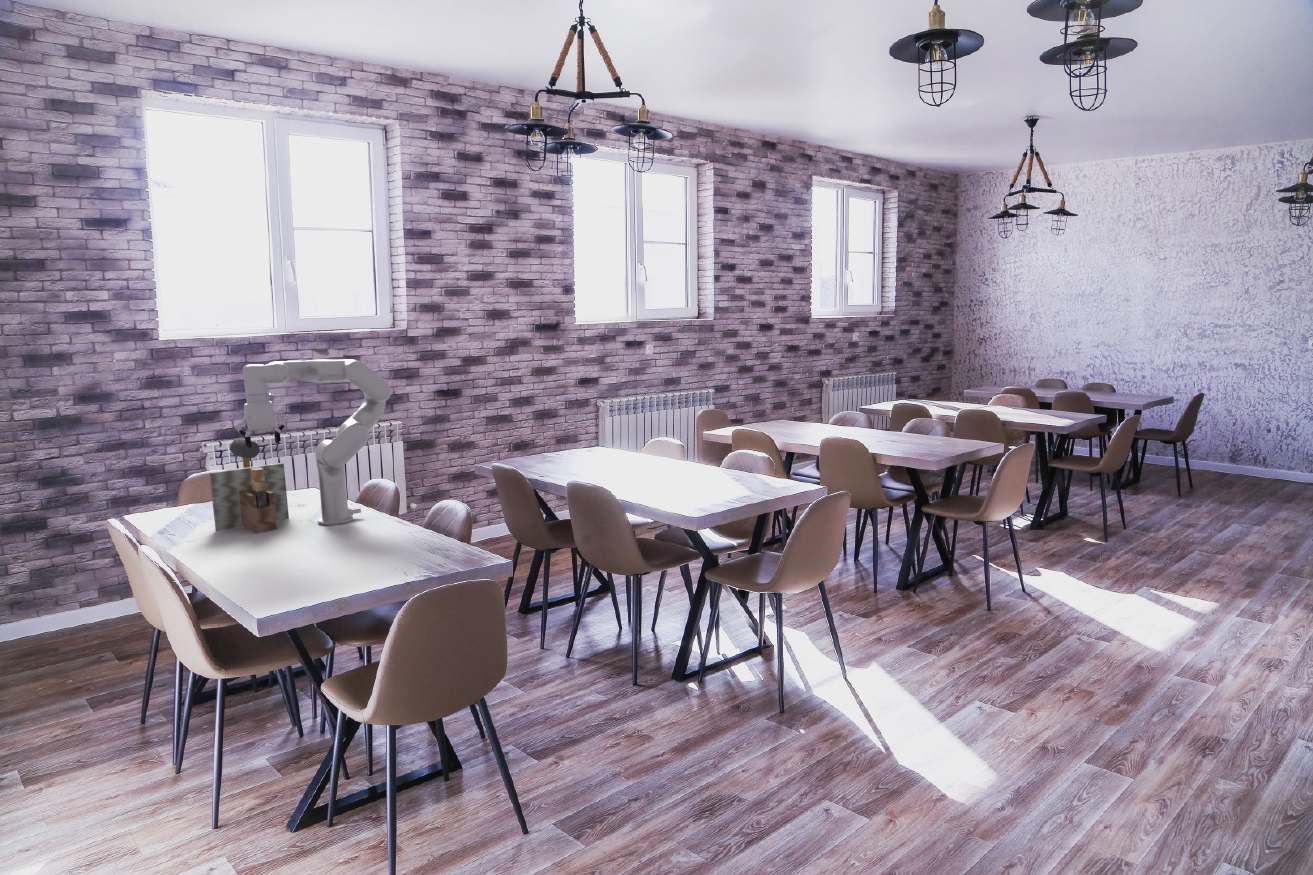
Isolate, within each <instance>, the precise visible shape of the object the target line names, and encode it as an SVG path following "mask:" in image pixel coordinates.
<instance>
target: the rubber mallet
mask: <svg viewBox="0 0 1313 875" xmlns="http://www.w3.org/2000/svg"><path fill="white" fill-rule="evenodd" d="M251 446H252V447H251V448H248V447H247V446H246V444H245V438H238V439H237V438H236V439H234V440H233V441H232V442H231V443H230V447H229V450H230V452H231V454H233V455H234V456H236V457H240V458H242V466H243V467H242V468H247V467H251V462H250V459H254V458H256V457H257V456H259V453H260V448H261V447H260V445H259V444H258V443H257V442H256V441H253V440H251Z"/></svg>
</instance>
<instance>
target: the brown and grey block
mask: <svg viewBox="0 0 1313 875" xmlns="http://www.w3.org/2000/svg"><path fill="white" fill-rule="evenodd" d="M250 472H251V482H252V492H253V494H254V495H256V504H257V507H258V508H259V507H265V506H267V497H266V486H265V476H264V469H262V468H260V467H258V468H251V469H250Z"/></svg>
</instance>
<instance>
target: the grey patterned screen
mask: <svg viewBox="0 0 1313 875" xmlns="http://www.w3.org/2000/svg"><path fill="white" fill-rule="evenodd" d="M258 467H260V468H262V469H264V476H265V486H266V497H267V506H265V507H259V508H258V507H257V504H256V495H254V494H253V492H252V482H251V472H250V469H251V468H258ZM285 474H286V472H285V463H284V462H278V463H277V462H276V463H271V464H263V465H255V466H250V467H247V468H243V467H241V468H234V469H232V468H231V469H226V470H220V471H219V470H218V471H211V472H209V483H210V491H211V492H210V493H211V502H212V510H213V519H214V521H213V522H214V527H215V528H214V529H215V531H216V532H222V531H226V530H227V531H228V530H232V529H233V530H234V529H238V528H244V529H246V530H248V531H250V532H251V531H252V532H251V533H253V534H258V533H264V532H269V531H274V530H278V522H277V521H282V520H283V519H284V520H288V519H287V518H290V514H289V505H288V504H289V503H288V494H287V485H286V482H287V481H286V475H285Z"/></svg>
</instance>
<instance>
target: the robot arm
mask: <svg viewBox="0 0 1313 875" xmlns="http://www.w3.org/2000/svg"><path fill="white" fill-rule="evenodd" d="M242 375H243V382H244V384H243V385H244V391H245V399H246V403H244V405H243V420H242V421H240V422H239V423H237V424H235V425H234V428H235V429H236V431H237V432H238V433H239V434H240V435H241V436H243V437H244V439H245V444H246V446H247V447H248V448H251V447H252V446H251V441H252V439H251V436H250V435H251V433H252V432H255V431H264V430H266V431H267V430H274V433H273V434H274V443H275V444H277V445H280V444H281V443H280V442H282V441H281V433H282V430H284V428H285V426H286V423H287V419H285V418H282V417H279V416H276V411H275V407H274V404H273V403H272V401H271V399H273V398H274V394H273V393H270V392H269V386H268V385H269V384H283V383H286V382H309V383H314V384H315V383H317V384H321V383H322V384H324V383H347V382H350V383H352V384H353V385H354V386H356V387H357V388H358V389H359V390H360V391H361V392H362V393H363V402H362V403H361V405H360V406H359V408H358V409H357V410H356V411H355V412H354V413H353V414H352V415H351V416H349V418H347V419H346V420H345V421H344V422H343V423H342V424H341V425H340V426H339V428H338V431H337V436H336V437H335V438H334V439H324V440H322V441H321V442H320V443H319V444H318V445H317V446H316V449H315V453H314V454H315V461H316V467H317V474H318V486H319V494H320V495H319V497H320V506H321V517H320V518H319V519H317V524H319V525H323V526H336V525H343V524H347V523H349V522H352V521H353V520H354V516H353V515H354V514H355V515H356V514H360V513H362V509H361V507H356V508H355V507H353V508H351V507H349V506H348V505H349V504H348V492H347V480H346V470H345V469H346V468H345V464H347V463H348V462H349V461H350V460H351V459H353V458H354V456H355V455H357V453H358V452H359V451H361V450H362V448H363V447H364V446H366V444H367V443H368V441H369V439H370V430H371V429H372V428H374V426H375V425H376V424H377V423H378V422H379V421H380V420H381V418H382V417H383V415H384V413H385V410H386V406H387V405H386V404H387V403H386V402H387V401H388V400H389V399H390V397H391V395H392V389H391V386H390V384H389V383H388V381H386V380H385V379H384V378H383V377H381V376H380V375H379V374H378V373H376V372H375V371H374V370H373V369H371V368H370V366H368V365H367V364H366V363H365V362H363V361H361V360H358V359H349V358H348V359H347V358H345V359H311V360H309V359H308V360H299V361H298V360H295V361H293V360H291V361H290V360H289V361H288V360H287V361H282V360H281V361H271V362H269V363H268V364H259V363H257V364H246V365H244V366H243V367H242ZM277 422H280V425H278V423H277ZM243 426H244V429H245V431H244V430H243V429H242V427H243Z"/></svg>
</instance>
